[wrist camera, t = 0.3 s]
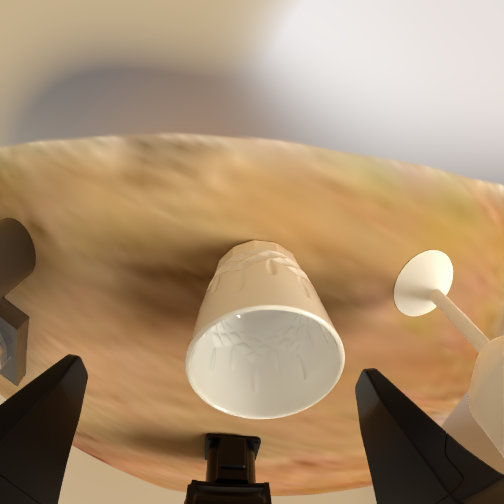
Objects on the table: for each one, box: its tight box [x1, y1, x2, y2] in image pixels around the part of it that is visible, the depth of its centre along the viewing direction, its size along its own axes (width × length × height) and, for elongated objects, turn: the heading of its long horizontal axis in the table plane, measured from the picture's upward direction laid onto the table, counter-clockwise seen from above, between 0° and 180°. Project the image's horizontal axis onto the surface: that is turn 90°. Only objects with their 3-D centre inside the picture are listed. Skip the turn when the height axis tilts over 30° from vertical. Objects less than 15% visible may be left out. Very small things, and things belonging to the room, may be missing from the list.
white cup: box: [185, 240, 345, 419], centre depth 19 cm, size 8×8×10 cm
